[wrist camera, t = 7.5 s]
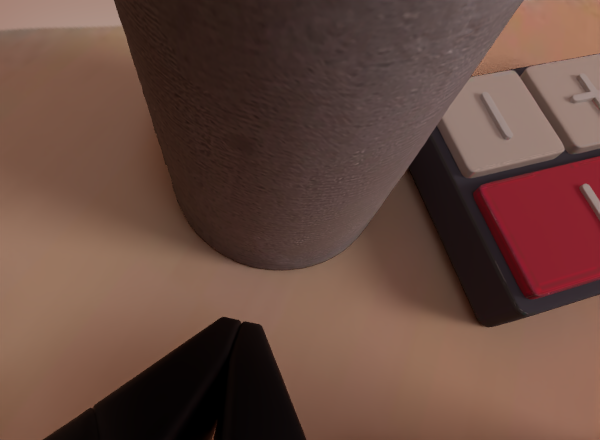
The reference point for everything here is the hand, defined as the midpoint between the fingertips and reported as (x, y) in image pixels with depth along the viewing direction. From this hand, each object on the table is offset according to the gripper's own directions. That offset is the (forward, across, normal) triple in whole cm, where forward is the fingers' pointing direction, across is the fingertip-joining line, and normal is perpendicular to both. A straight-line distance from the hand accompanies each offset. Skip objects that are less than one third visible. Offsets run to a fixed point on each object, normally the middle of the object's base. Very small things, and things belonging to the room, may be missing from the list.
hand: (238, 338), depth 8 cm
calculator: (+14, -14, -3) cm, 20 cm away
